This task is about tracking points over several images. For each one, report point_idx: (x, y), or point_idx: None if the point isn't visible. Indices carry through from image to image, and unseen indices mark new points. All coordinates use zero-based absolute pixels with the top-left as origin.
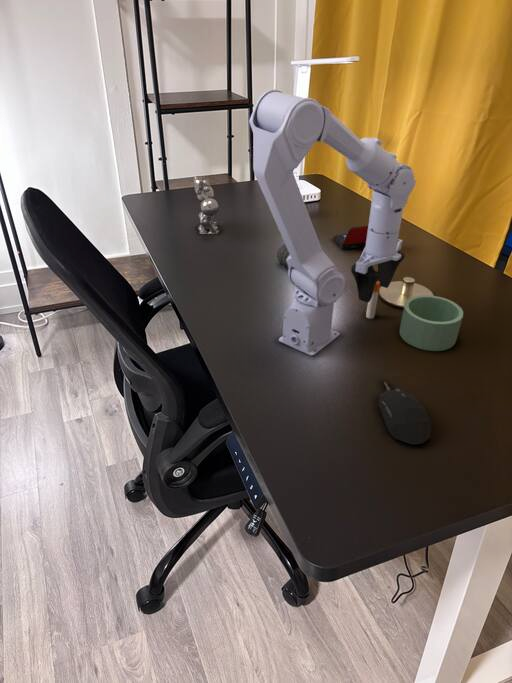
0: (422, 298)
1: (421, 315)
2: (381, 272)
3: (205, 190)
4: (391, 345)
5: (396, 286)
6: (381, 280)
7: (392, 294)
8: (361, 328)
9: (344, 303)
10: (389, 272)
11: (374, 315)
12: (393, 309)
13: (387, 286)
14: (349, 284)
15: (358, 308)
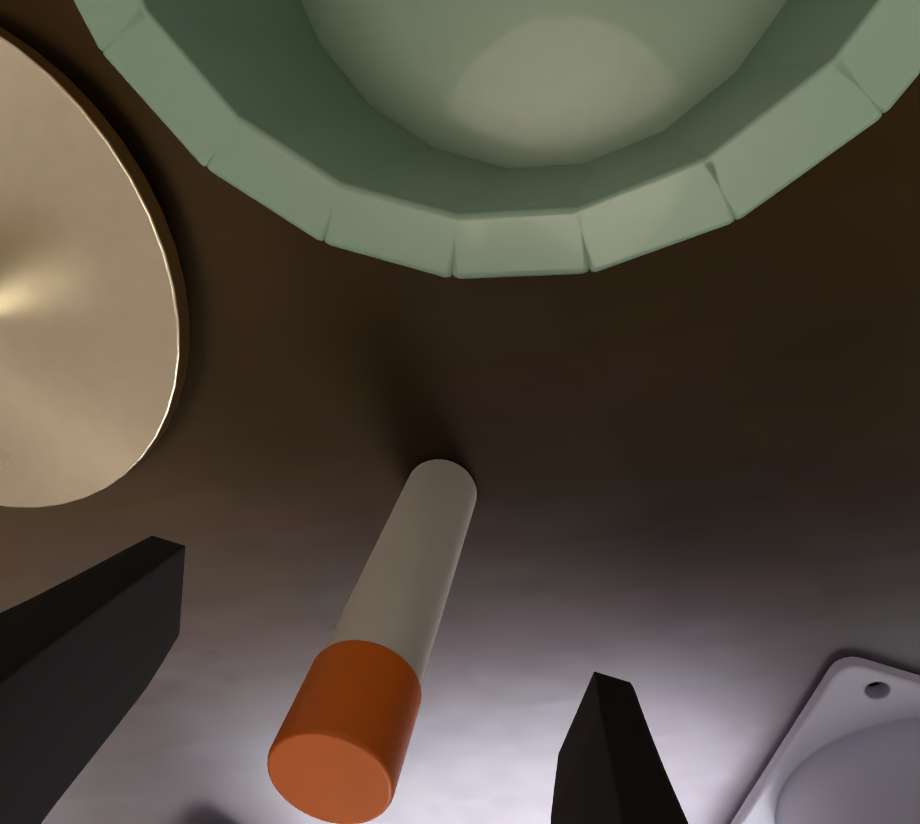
0: (184, 42)
1: (286, 25)
2: (59, 760)
3: None
4: (882, 220)
5: None
6: (136, 660)
7: (37, 397)
8: (659, 518)
9: None
10: (26, 707)
11: (438, 468)
12: (221, 333)
13: (173, 556)
14: None
15: None
